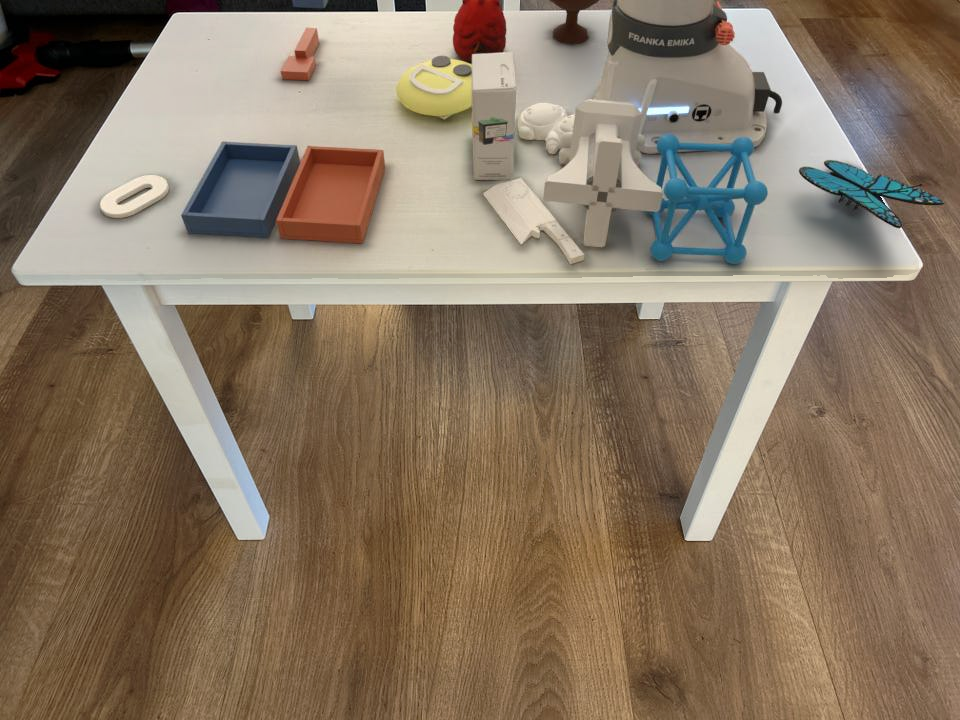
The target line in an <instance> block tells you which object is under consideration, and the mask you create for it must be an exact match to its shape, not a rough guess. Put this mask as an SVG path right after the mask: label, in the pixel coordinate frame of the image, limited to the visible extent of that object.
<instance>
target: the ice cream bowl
mask: <svg viewBox="0 0 960 720" xmlns="http://www.w3.org/2000/svg"><path fill="white" fill-rule="evenodd" d="M599 1H600V0H549V2H551V3H552V4H554V5H556V6H557V7H558V8H560V9H561V10H563V11H564V10H565V12H566V17H565V22H563V23H561V24H558V26H556V27H555V28H553V31H552V38H553V39H554V40H556V41H557V42H559V43H561V44H562V43H563V44H567V45H575V44H581V43H584V42H585V41H587V40H588V39H589V33H588V29H587V28H586V27H584V26H582V25H581V24H580V23H578V18H579V13H580V11H584V10H587V9H589V8H590V7H593V6H594V5H595V4H597V3H598V2H599Z"/></svg>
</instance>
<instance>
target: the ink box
mask: <svg viewBox="0 0 960 720" xmlns="http://www.w3.org/2000/svg"><path fill="white" fill-rule="evenodd" d="M471 65H472V107H471V139H472V140H471V141H472V163H473V164H472V165H473V166H472V167H473V179H474V180H475V181H499V180H501V181H502V180H510V179H511V180H513V179H514V175H515V174H514V170H515V168H514V167H515V141H516V106H517V105H516V104H517V83H516V74H515V73H516V71H515V69H516V68H515V59H514V53H513V52H511V51H506V52H505V51H504V52H503V53H487V54H472V64H471Z"/></svg>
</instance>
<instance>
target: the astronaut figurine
mask: <svg viewBox="0 0 960 720" xmlns="http://www.w3.org/2000/svg"><path fill="white" fill-rule="evenodd" d="M574 118H575V113H573V114H570V115H568V112H567V111H566V109H565V108H564V107H563V106H562V105H559V104H554V103H551V102H538V103H535V104H532V105H530V106H529V107H526V108H525V109H524V110H523V111H521V113H520V115H519V117H518V119H517V130H518V136H519V138H521V139H522V140H526V141H532V140H537V141H545V150H546V151H547V153H548V154H549V155H554V154H556V153H557V152H559V151H560V150H561V149H563V147H562V136H563V135H564V134H565V133H567V132H573V126H574Z"/></svg>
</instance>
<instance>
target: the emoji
mask: <svg viewBox="0 0 960 720" xmlns="http://www.w3.org/2000/svg"><path fill="white" fill-rule="evenodd" d="M395 90H396V91H395V92H396V96H397V98H398V100H399V102H400V103H401V104H402V105H403V106H404V107H405V108H406V109H408V110H410V111H411V112H414V113H417V114H421V115H424V116H433V117H437V118H439V119H441V120H445V121H446V119H448V118H449V117H451V116H453V115H454V114H458V113H461V112H463V111H466V110H468V109H470V108H472V64H470V63H467V62H465V61H464V60H460V59H455V58H450V56H447V55H438V56H435V57H433V58H432V59H431V60H428V61H424V62H422V63H419V64H416V65H414V66H412V67H411V68H409V69H408V70H406V71H405V72H404V73H403V74H402V75H401V77H399V80H398V81H397V85H396V89H395Z"/></svg>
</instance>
